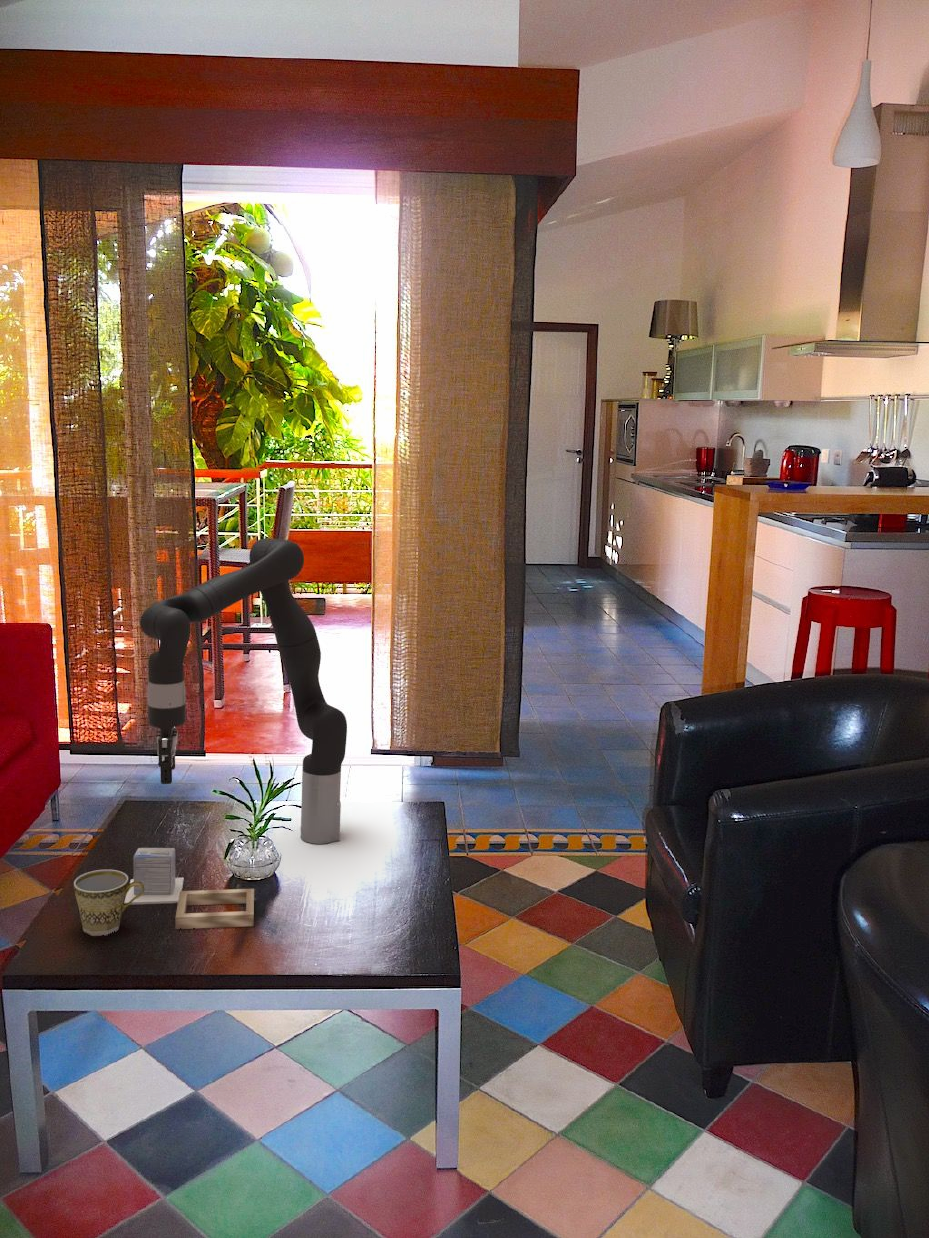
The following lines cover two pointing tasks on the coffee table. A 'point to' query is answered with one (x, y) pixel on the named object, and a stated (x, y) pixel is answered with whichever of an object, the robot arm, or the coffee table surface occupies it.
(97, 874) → the ceramic cup
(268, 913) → the coffee table surface
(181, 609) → the robot arm
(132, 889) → the pad
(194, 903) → the rectangular wooden frame
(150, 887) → the medicine box
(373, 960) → the coffee table surface
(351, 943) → the coffee table surface
